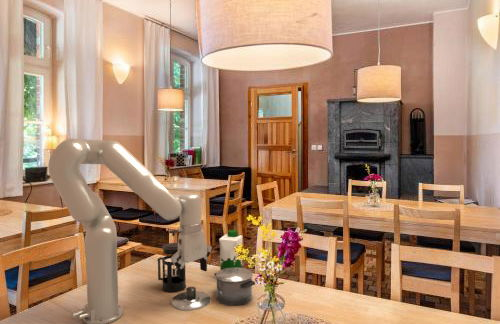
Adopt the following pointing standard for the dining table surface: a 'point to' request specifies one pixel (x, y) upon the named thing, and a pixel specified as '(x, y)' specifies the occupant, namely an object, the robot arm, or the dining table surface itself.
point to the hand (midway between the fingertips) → (193, 274)
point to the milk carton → (229, 250)
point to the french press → (170, 269)
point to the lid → (190, 300)
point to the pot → (234, 286)
